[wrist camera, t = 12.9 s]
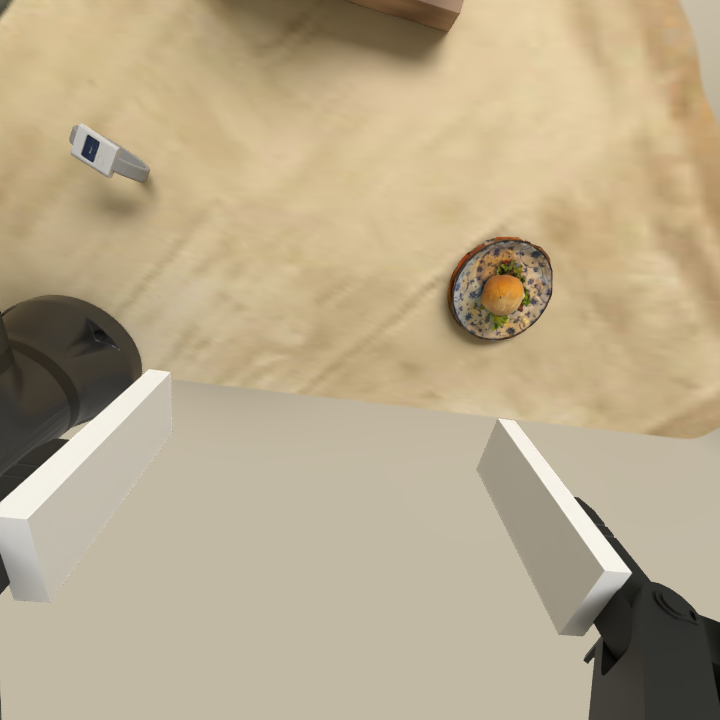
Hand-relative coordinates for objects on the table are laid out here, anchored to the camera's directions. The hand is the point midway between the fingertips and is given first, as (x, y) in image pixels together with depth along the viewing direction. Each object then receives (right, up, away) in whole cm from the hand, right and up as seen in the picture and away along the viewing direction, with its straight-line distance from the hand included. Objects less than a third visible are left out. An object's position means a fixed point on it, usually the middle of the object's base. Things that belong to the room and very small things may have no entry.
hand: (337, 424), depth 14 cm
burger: (+17, +11, +28) cm, 34 cm away
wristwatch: (-22, +23, +20) cm, 37 cm away
